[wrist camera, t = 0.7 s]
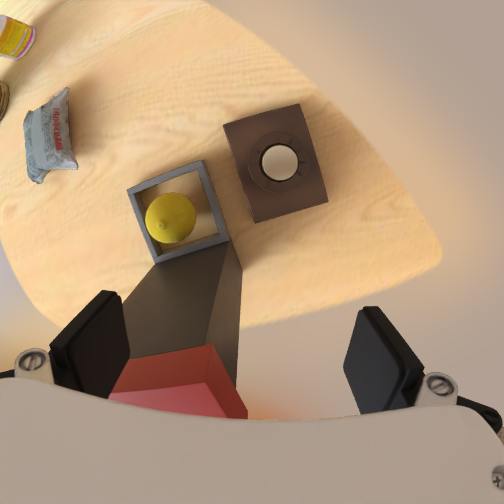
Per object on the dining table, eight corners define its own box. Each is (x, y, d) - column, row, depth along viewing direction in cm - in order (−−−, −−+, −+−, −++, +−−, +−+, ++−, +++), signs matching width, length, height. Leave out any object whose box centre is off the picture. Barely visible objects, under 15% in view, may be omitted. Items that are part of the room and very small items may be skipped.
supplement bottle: (42, 25, 23) (-3, 5, 11) (27, 59, 25) (-23, 45, 13) (21, 30, 22) (-22, 14, 10) (7, 62, 24) (-39, 52, 12)
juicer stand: (129, 189, 33) (-29, 248, 9) (207, 158, 32) (105, 154, 8) (173, 298, 38) (103, 450, 14) (248, 277, 37) (247, 447, 13)
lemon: (183, 180, 33) (164, 186, 25) (210, 215, 34) (199, 231, 27) (150, 207, 34) (125, 220, 26) (176, 241, 35) (157, 262, 28)
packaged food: (77, 90, 28) (57, 84, 23) (85, 168, 32) (64, 171, 27) (36, 112, 29) (16, 110, 24) (43, 184, 32) (23, 189, 28)
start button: (257, 151, 28) (258, 150, 27) (289, 142, 28) (292, 141, 27) (267, 183, 30) (268, 184, 28) (299, 174, 29) (302, 174, 28)
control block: (224, 127, 31) (220, 122, 27) (296, 106, 30) (302, 100, 26) (254, 220, 34) (255, 227, 31) (324, 199, 34) (333, 204, 30)
